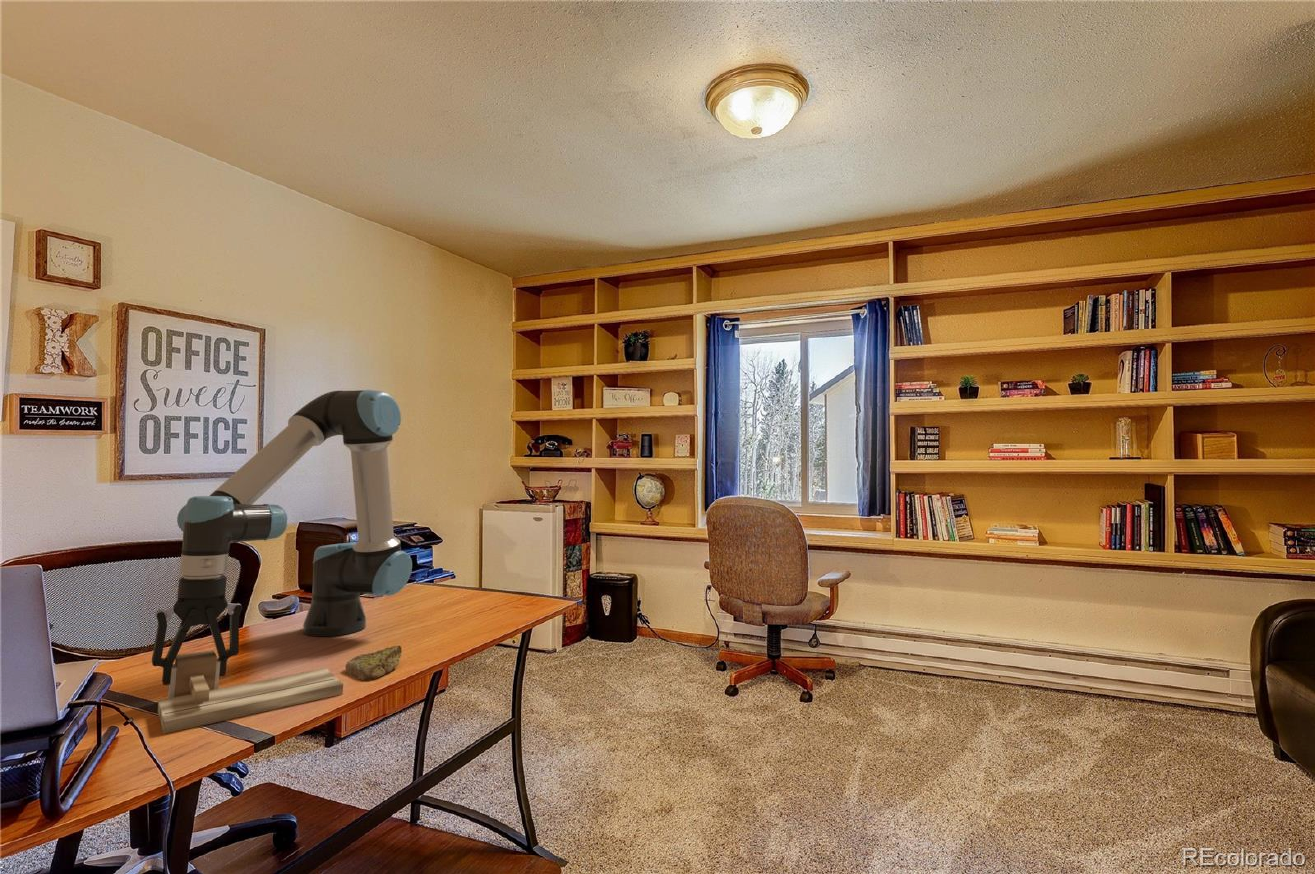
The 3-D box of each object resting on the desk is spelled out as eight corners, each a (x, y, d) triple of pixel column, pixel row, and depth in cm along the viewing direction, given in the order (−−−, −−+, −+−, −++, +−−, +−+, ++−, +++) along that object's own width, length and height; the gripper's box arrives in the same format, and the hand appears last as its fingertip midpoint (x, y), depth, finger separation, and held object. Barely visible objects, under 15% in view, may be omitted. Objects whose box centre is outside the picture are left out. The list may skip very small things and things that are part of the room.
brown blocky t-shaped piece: (171, 697, 119) (175, 655, 119) (210, 691, 123) (213, 650, 123) (178, 723, 108) (183, 676, 108) (220, 715, 112) (224, 670, 112)
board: (157, 711, 113) (158, 700, 113) (325, 677, 132) (326, 667, 132) (163, 734, 104) (164, 721, 104) (342, 694, 123) (343, 683, 123)
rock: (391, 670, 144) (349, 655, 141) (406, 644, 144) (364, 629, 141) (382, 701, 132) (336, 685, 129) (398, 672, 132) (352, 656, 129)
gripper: (141, 583, 111) (128, 715, 110) (264, 575, 124) (254, 693, 122) (139, 576, 117) (127, 702, 115) (257, 569, 129) (247, 682, 128)
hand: (192, 697), depth 119 cm, fingers closed on brown blocky t-shaped piece, 6 cm apart
